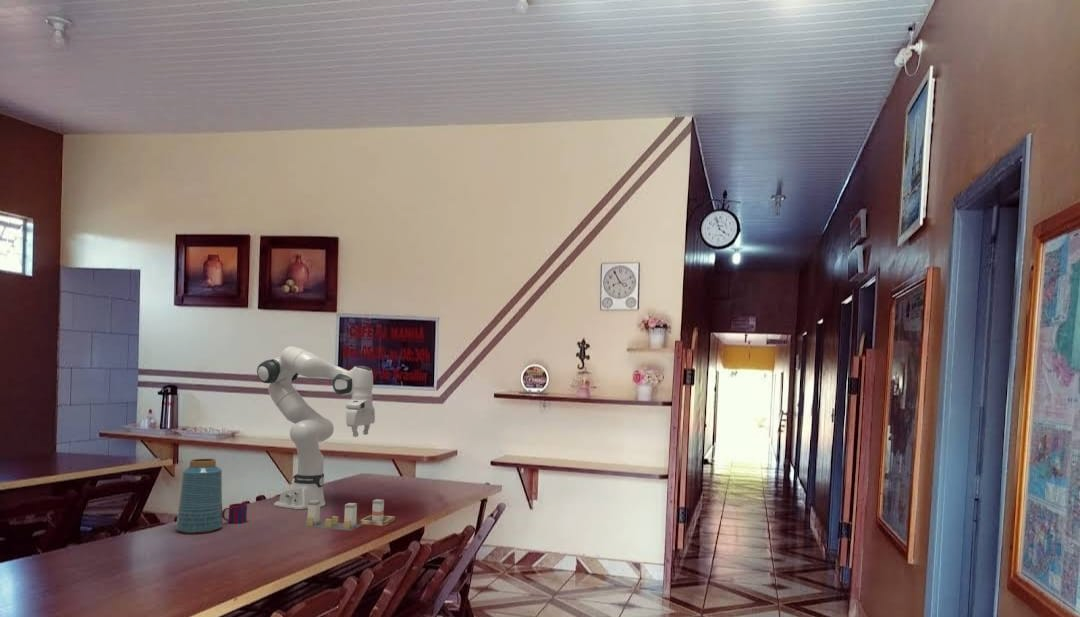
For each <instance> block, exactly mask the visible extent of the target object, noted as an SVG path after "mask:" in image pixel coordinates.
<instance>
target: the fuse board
mask: <svg viewBox="0 0 1080 617" xmlns="http://www.w3.org/2000/svg"><path fill="white" fill-rule="evenodd" d="M357 521H358V519H357V517H356V527H354V528H350V521H346V520H345V521H344V520H343V522H339V516H335V515H332V516H331V518H325V520H324V521H321V520H320V522H319V524H317V525H313V518H309V517H308V516H307V517H306V523H305V524H302V525H300V526H299V527H303V528H314V529H323V530H325V529H326V530H338V531H347V532H348V531H349V532H350V531H354V530H355V529H358V528H360V527H362V526H363V524H359V523H357Z"/></svg>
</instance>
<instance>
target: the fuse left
mask: <svg viewBox="0 0 1080 617" xmlns="http://www.w3.org/2000/svg"><path fill="white" fill-rule="evenodd" d="M308 517H309V518H313V525H317V524H319V522H320V521H321V507H320V501H318V500H312V501H309V502H308V508H307V518H308Z"/></svg>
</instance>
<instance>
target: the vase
mask: <svg viewBox="0 0 1080 617" xmlns="http://www.w3.org/2000/svg"><path fill="white" fill-rule="evenodd" d="M222 473H223V470H222V468H221V467H219V466H217V461H216V459H215V458H212V457H211V458H207V457H205V458H192V459H190V461H189V466H188V467H186V468H184V469H183V470H182V478H181V485H180V493H179V502H178V507H177V508H178V509H177V518H176V525H175V528H176V530H177V531H178V532H180V533H182V534H189V535H190V534H191V535H192V534H193V535H195V534H196V535H197V533H198V534H205V533H211V532H215V531H217V530H219V529H220V528H221V527H222V526H223V517H222V513H223V478H222V477H223V476H222Z"/></svg>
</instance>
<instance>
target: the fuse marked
mask: <svg viewBox="0 0 1080 617" xmlns="http://www.w3.org/2000/svg"><path fill="white" fill-rule="evenodd" d="M371 508H372V512H371V515H372V519H371V521H381V522H383V521H384V520H383V516H385V515H384V512H385V510H384V508H385V499H378V498H376V499H373V500H372V507H371Z"/></svg>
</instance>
